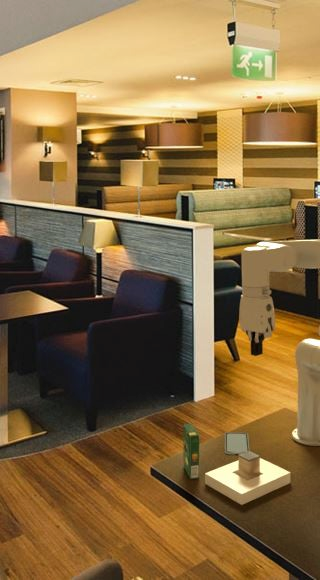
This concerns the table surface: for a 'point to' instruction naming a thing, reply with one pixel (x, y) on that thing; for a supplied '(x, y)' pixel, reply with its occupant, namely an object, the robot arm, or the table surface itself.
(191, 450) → the coffee box
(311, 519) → the table surface
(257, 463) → the plug
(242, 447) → the smartphone
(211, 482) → the socket plate
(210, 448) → the table surface
